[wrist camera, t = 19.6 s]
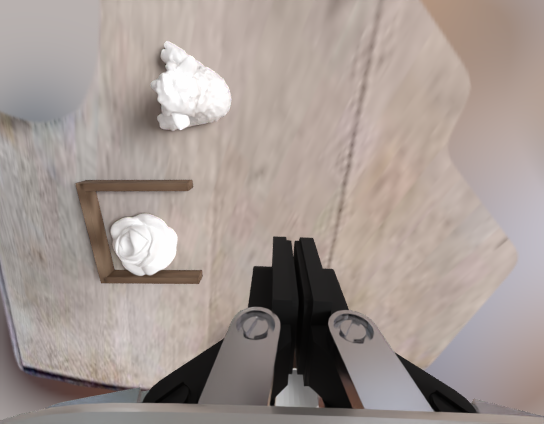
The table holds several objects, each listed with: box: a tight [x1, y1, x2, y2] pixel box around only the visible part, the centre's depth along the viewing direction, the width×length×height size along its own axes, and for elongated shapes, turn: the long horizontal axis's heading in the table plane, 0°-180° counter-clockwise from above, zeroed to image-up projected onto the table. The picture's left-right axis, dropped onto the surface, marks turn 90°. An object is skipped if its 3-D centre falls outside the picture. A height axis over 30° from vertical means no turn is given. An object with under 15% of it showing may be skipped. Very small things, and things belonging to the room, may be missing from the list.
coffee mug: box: [275, 351, 319, 408], centre depth 38 cm, size 12×9×10 cm
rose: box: [110, 213, 177, 276], centre depth 36 cm, size 10×4×10 cm
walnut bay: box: [75, 180, 203, 284], centre depth 37 cm, size 15×14×2 cm
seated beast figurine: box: [151, 41, 232, 131], centre depth 26 cm, size 10×9×12 cm
